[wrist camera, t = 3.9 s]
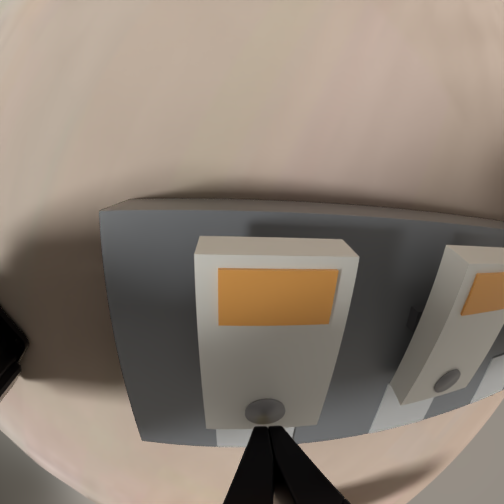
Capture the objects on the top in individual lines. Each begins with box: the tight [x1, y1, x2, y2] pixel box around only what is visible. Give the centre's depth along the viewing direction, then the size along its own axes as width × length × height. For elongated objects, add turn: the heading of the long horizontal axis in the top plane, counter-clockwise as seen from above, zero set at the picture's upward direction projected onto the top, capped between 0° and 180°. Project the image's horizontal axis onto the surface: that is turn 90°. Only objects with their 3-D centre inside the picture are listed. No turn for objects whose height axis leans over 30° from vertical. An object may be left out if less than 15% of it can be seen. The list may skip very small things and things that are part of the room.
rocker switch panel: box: [99, 198, 504, 447], centre depth 12 cm, size 24×10×4 cm, turn 88°
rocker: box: [194, 236, 360, 429], centre depth 8 cm, size 6×4×1 cm, turn 178°
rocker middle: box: [390, 245, 504, 406], centre depth 8 cm, size 6×4×1 cm, turn 177°
